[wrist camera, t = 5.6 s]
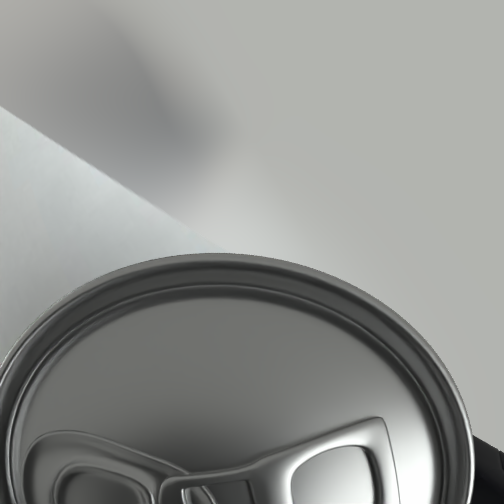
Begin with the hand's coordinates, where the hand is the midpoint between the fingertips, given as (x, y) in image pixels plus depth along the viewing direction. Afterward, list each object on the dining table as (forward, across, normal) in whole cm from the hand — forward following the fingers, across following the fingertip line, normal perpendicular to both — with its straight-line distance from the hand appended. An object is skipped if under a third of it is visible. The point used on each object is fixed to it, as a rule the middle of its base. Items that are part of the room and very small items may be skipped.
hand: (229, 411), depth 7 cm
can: (+4, 0, +6) cm, 7 cm away
